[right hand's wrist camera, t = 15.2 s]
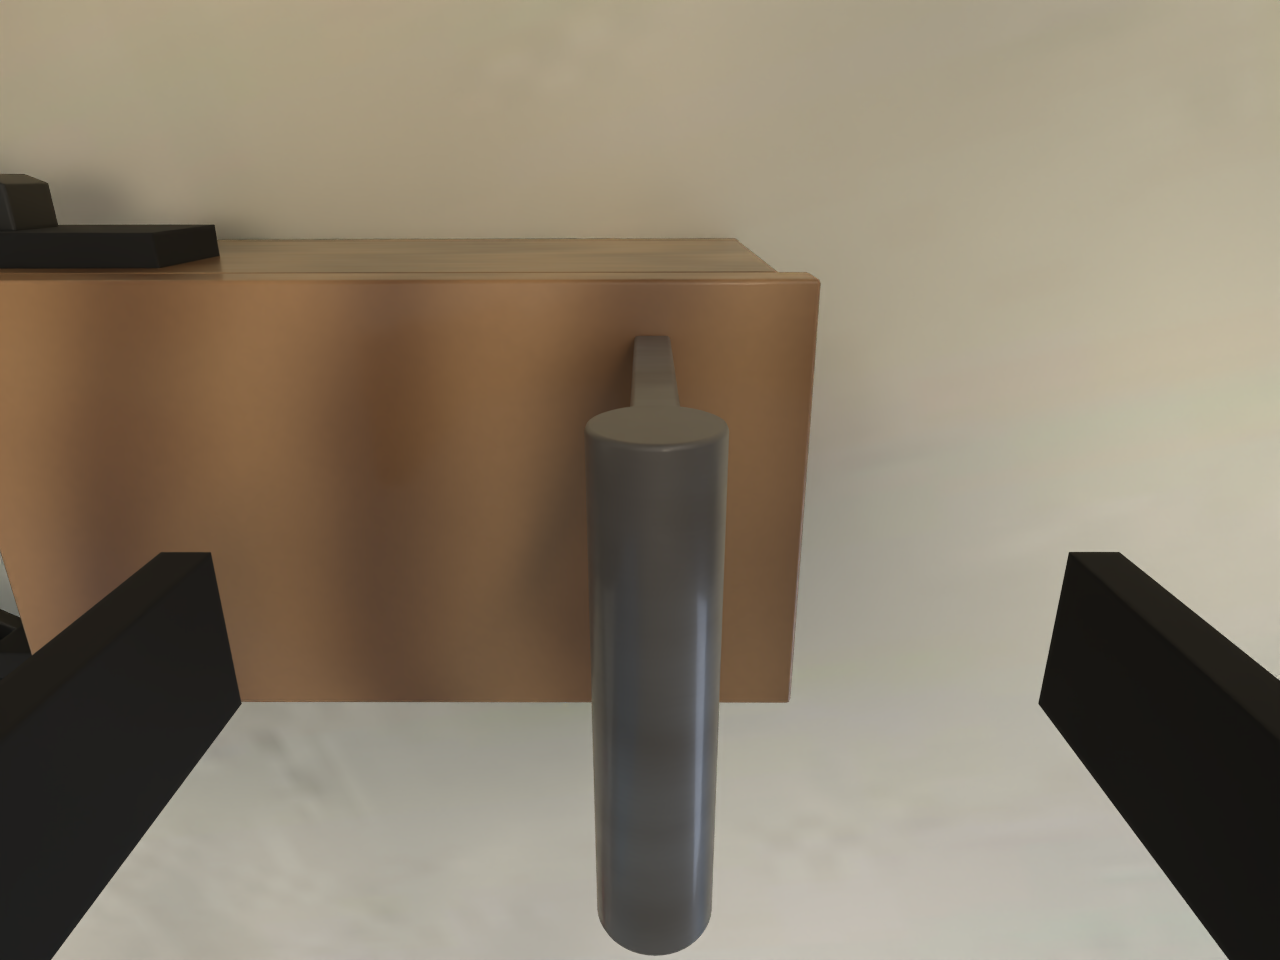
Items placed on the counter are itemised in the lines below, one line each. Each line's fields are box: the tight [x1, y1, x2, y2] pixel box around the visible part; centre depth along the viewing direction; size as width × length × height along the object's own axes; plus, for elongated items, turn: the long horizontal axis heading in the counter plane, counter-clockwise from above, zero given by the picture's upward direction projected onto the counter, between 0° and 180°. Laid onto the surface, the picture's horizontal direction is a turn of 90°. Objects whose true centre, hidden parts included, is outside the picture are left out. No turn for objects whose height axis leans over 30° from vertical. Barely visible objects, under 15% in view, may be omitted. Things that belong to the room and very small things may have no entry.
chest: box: [0, 238, 777, 274], centre depth 23 cm, size 17×10×9 cm, turn 90°
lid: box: [0, 272, 821, 956], centre depth 15 cm, size 17×10×8 cm, turn 90°
